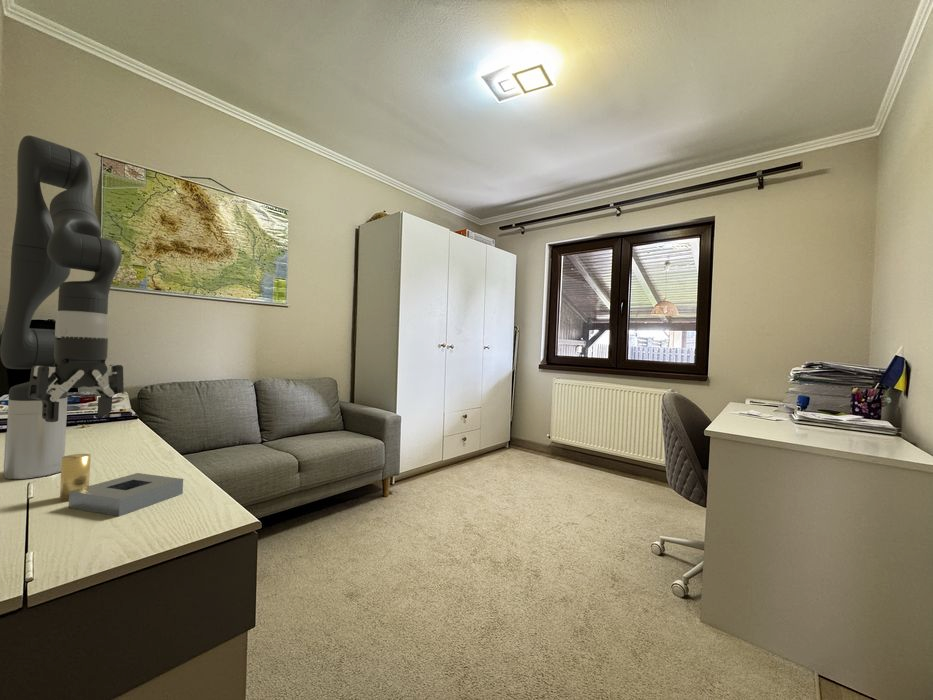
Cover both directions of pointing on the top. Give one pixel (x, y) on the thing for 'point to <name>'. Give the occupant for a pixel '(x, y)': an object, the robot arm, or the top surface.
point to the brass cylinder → (74, 474)
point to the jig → (125, 494)
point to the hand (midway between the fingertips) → (78, 418)
